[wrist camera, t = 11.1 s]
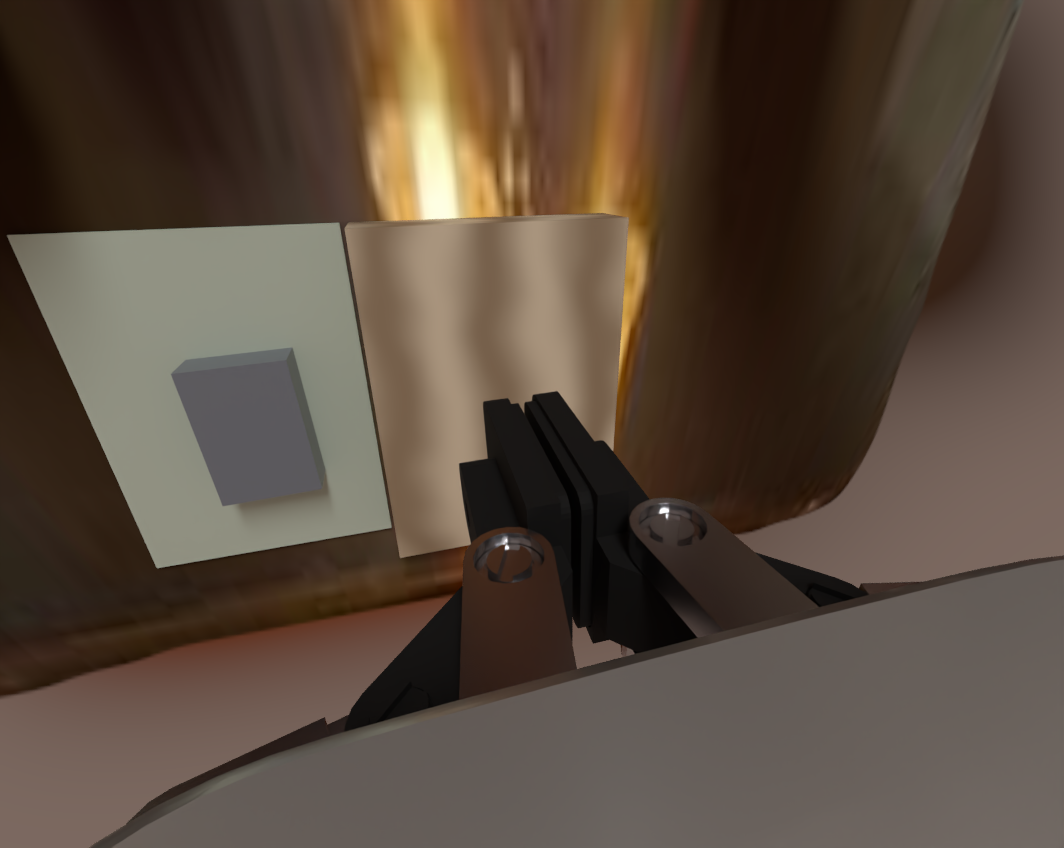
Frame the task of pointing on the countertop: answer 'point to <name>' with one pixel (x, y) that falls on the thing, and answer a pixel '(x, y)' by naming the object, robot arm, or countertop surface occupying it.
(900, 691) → the robot arm
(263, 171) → the countertop surface
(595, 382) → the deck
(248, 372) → the grey flat block
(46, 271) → the mat
